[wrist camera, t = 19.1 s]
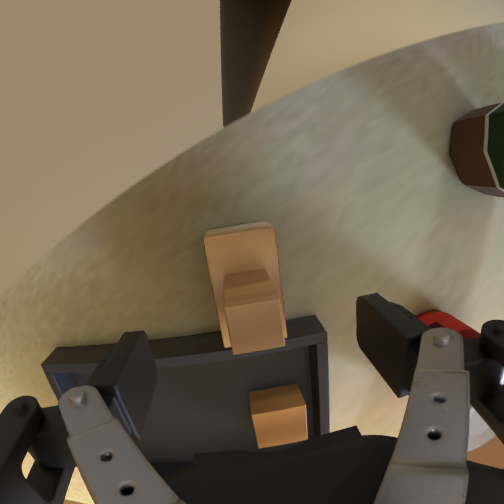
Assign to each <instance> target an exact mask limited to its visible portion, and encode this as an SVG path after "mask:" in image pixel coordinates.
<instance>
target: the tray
mask: <svg viewBox="0 0 504 504" xmlns="http://www.w3.org/2000/svg"><path fill="white" fill-rule="evenodd" d="M286 328H287V338H285V346H283V347H277V348H272V349H266V350H260V351H255V352H248V353H242V354H236V355H234V354H233V352H232V347H228V348H225V347H224V343H223V338H222V334H221V332H214V333H207V334H199V335H192V336H184V337H176V338H168V339H159V340H150V341H148V342H149V345H150V348H151V351H152V355H153V358H154V361H155V364H156V367H157V373H158V380H157V384H156V388H155V391H154V394H153V398H152V401H151V405H150V408H149V412H148V416H147V419H146V423H145V427H144V430H143V434H142V438H141V441H133V442H134V443H135V445H136V446H137V447H138V449H139V450H140V451H141V453H142V454H143V455H144V457H145V458H146V459H147V460H148V462H149V463H150V464H151V466H152V467H153V468H154V469H155V471H156V472H157V473H158V474H159V475H160V477H161V478H164V477H165V476H167V475H169V474H171V473H173V472H175V471H177V470H179V469H182V468H185V467H188V466H192V465H194V454H197V453H211V452H222V451H232V450H239V451H258V452H278V451H282V450H285V449H287V448H290V447H292V446H295V445H297V444H300V443H302V442H305V441H307V440H309V439H312V438H314V437H316V436H319V435H323V434H327V433H330V408H329V368H328V345H327V332H326V330H325V329H324V327H323V326H322V324H321V323H320V321H319V320H318V319H317V317H316V316H315V315H312V316H307V317H302V318H297V319H292V320H286ZM116 345H117V344H107V345H94V346H79V347H61V348H56V349H55V350H54V351H53V352H52V353H51V354H50V355H49V356H48V357H47V358H46V359H45V361H44V362H43V363H42V364H41V366H42V368H43V370H44V372H45V374H46V377H47V379H48V381H49V383H50V385H51V387H52V389H53V391H54V393H55V395H56V397H57V399H58V401H59V399H60V397H61V396H62V395H63V394H64V393H65V392H67V391H68V390H70V389H72V388H75V387H78V386H85V384H86V383H87V381H88V379H89V378H90V376H91V374H92V373H93V371H94V369H95V368H96V366H97V364H98V363H99V362H100V360H101V358H102V356H103V355H104V353H105V352H106V351H108V350H109V349H110V348H112V347H113V346H116ZM296 383H298V385H299V388H300V391H301V393H302V396H303V399H304V401H305V404H306V415H307V432H308V439H307V440H303V441H298V442H293V443H288V444H283V445H277V446H271V447H265V448H258V444H257V439H256V435H255V430H254V425H253V420H252V415H251V408H250V400H249V392H250V391H257V390H263V389H269V388H274V387H280V386H285V385H290V384H296Z"/></svg>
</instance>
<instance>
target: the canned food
mask: <svg viewBox="0 0 504 504" xmlns="http://www.w3.org/2000/svg"><path fill="white" fill-rule="evenodd" d="M417 318H418V319H420V320H421V321H422V322H424V323H425V324H426V325H427V326H429V327H430V328H431V329H433V328H449V329H453V330H455V331H457V332H458V333H460V334H461V336H462V337H463V339H469V338H475V337H480V333H478V332H477V331H475V330H474V329H472V328H470V327H469V326H467V325H466V324H464V323H462V322H461V321H459V320H458V319H456V318H454V317H453V316H451V315H449V314H448V313H444V312H438V311H430V312H426V313H423V314H421V315H419V316H417ZM408 395H410V394H408ZM495 435H496V434H495V433H494V432H493V431H492V429H491V428H490V427H489V426H488V425H487V423H486V422H485V421H484V420H483V419H482V418H481V416H480V415H479V414H478V413H477V412H476V411H475V409H474V408H473V407H472V406H471V405H470V422H469V439H468V451H471V450H474V449H476V448H478V447H480V446H481V445H483V444H485V443H486V442H487V441H489V440H490V439H491V438H492V437H494V436H495ZM468 451H467V452H468Z"/></svg>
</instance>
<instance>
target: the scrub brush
mask: <svg viewBox="0 0 504 504" xmlns="http://www.w3.org/2000/svg"><path fill="white" fill-rule="evenodd" d="M203 240H204V246H205V251H206V257H207V262H208V268H209V273H210V278H211V284H212V289H213V294H214V299H215V304H216V309H217V314H218V319H219V324H220V329H221V334H222V338H223V343H224V347H225V348H228V347H232V352H233V354H234V355H236V354H242V353H248V352H255V351H260V350H266V349H272V348H277V347H283V346H285V338H287V328H286V319H285V311H284V303H283V295H282V287H281V279H280V271H279V263H278V256H277V248H276V241H275V233H274V228H273V226H271V225H270V224H269V223H268V222H266V221H259V222H253V223H247V224H240V225H234V226H228V227H222V228H215V229H209V230H207V232H206V234H205V236H204V239H203Z"/></svg>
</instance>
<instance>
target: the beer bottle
mask: <svg viewBox="0 0 504 504" xmlns="http://www.w3.org/2000/svg"><path fill="white" fill-rule="evenodd" d="M450 155H451V157H452V159H453V161H454V164H455V166H456V168H457V171H458V173H459V176H460V178H461V180H462V183H463V184H464V185H466V186H469V187H471V188H473V189H475V190H477V191H479V192H481V193H483V194H486V195H492V196H497V197H504V103H500V104H495V105H491V106H486V107H482V108H479V109H476V110H473V111H471V112H469V113H468V114H466V115H465V116H463V117H462V118H460V119H459V120H457V121H456V122H455V123H454V124H453V131H452V142H451V152H450Z"/></svg>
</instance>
